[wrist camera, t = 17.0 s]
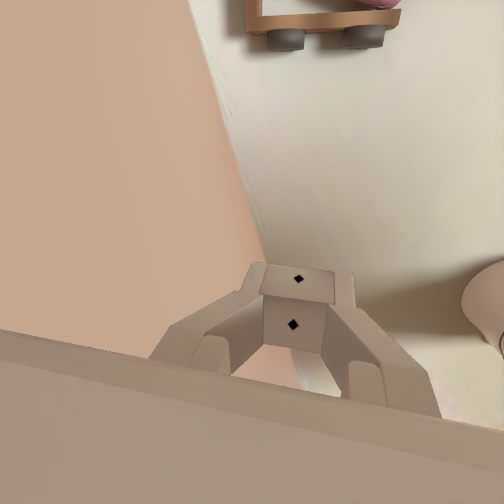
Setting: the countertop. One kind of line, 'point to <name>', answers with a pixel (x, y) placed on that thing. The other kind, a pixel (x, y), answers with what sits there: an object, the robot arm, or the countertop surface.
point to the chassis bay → (320, 26)
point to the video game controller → (381, 3)
